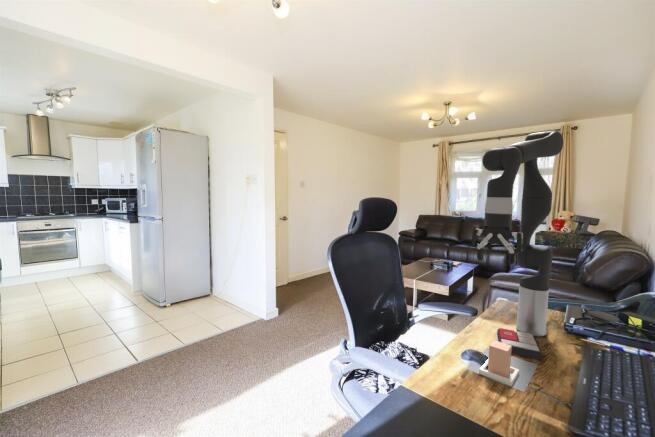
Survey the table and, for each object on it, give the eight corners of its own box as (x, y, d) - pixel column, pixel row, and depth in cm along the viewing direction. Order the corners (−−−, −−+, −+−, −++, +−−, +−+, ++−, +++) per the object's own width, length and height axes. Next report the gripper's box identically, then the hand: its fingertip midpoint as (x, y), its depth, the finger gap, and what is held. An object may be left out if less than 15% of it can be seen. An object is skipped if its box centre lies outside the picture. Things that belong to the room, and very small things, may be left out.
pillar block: (492, 366, 88) (494, 340, 87) (509, 372, 85) (511, 345, 84) (487, 372, 84) (489, 345, 84) (505, 379, 81) (507, 351, 81)
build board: (486, 351, 99) (487, 344, 99) (537, 368, 89) (538, 361, 89) (467, 373, 86) (467, 365, 86) (523, 396, 76) (524, 387, 76)
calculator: (533, 333, 106) (541, 350, 92) (532, 345, 106) (540, 364, 92) (497, 326, 111) (500, 341, 97) (496, 338, 111) (499, 354, 97)
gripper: (527, 213, 92) (523, 264, 93) (478, 210, 102) (475, 257, 103) (521, 213, 87) (518, 268, 88) (470, 211, 96) (467, 260, 98)
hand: (495, 262), depth 95 cm, fingers open, 8 cm apart
